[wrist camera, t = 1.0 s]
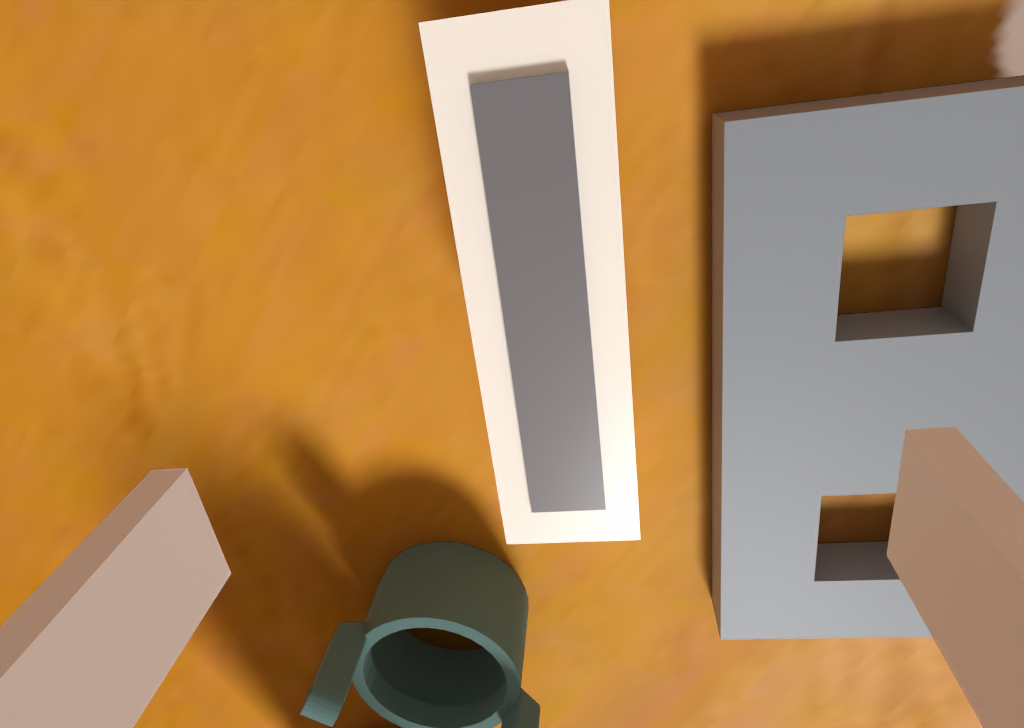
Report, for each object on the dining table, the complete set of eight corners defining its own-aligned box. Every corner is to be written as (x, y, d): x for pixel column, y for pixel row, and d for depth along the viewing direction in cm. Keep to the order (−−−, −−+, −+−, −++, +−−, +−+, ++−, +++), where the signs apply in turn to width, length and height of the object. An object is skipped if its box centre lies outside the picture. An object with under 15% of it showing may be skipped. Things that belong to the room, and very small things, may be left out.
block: (474, 24, 24) (416, 22, 16) (601, 5, 23) (608, -7, 15) (527, 410, 31) (506, 549, 23) (626, 404, 30) (640, 545, 22)
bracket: (351, 550, 36) (284, 700, 28) (518, 531, 34) (496, 685, 26) (401, 666, 40) (354, 826, 32) (554, 654, 38) (544, 821, 30)
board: (712, 113, 25) (724, 122, 22) (1108, 65, 23) (1165, 68, 20) (712, 600, 35) (720, 639, 33) (984, 595, 33) (1013, 635, 31)
